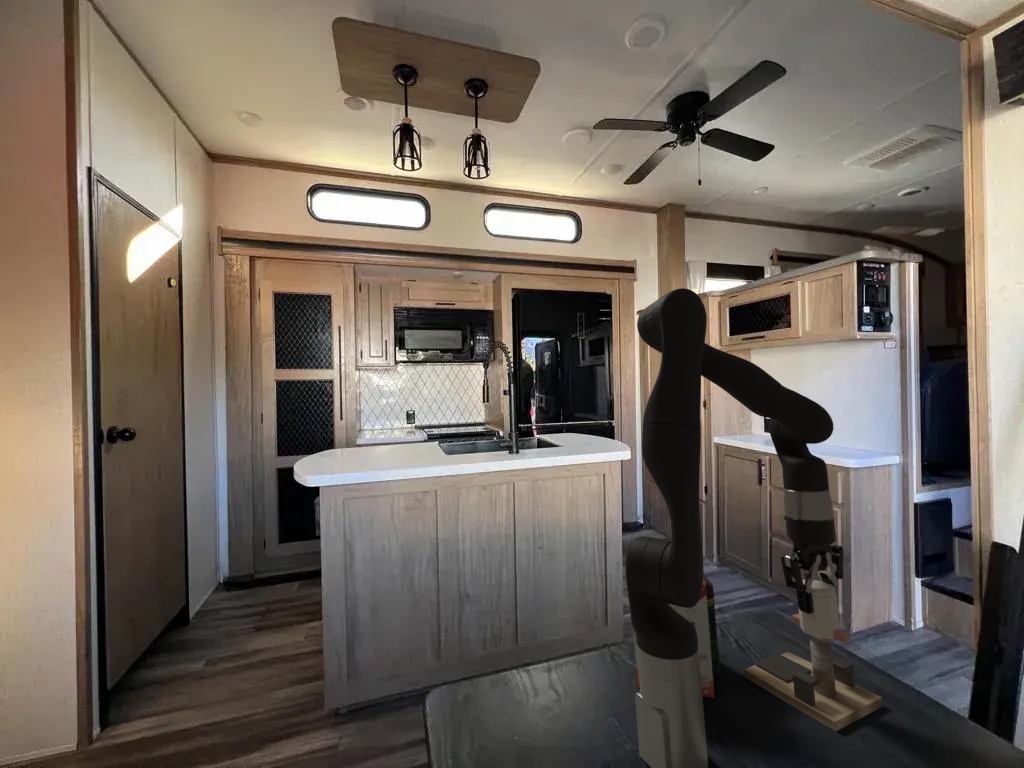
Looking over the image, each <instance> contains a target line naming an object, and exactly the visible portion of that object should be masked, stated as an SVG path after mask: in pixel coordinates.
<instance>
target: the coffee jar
mask: <svg viewBox="0 0 1024 768" xmlns="http://www.w3.org/2000/svg"><path fill="white" fill-rule="evenodd" d="M704 581H705V585H706V594H707V608H708V620H709V633H710V646H711V659H712V672H713V676H714V675H716V674H719V673H720V671H721V662H720V661H721V660H720V651H719V642H718V641H719V640H718V632H717V631H718V630H717V620H716V607H715V603H716V602H715V592H714V587H713V586H714V585H713V583H712V582H711V581H710V580H709V579H708V577H706V576H705V575H704Z"/></svg>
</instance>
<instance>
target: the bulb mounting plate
mask: <svg viewBox="0 0 1024 768" xmlns="http://www.w3.org/2000/svg"><path fill="white" fill-rule="evenodd" d="M809 645H810V646H809V647H810V658H811V662H810V661H808V660H806V659H804V658H802V657H800V656H798V655H796V654H794V653H792V652H789V651H786V652H784V653H781V654H780V655H782V656H784V657H786V658H788V659H790V660H792V661H794V662H796V663H798V664H800V665H802V666H804V667H806V668H808V669H810V670H811V671H812V672H811V673H809V674H808V673H806V672H804V671H800V672H798V673H796V674H793V681H791V682H788V683H786V682H784V681H782V680H781V679H779V678H777V677H775V676H773V675H772V674H770V673H768V672H766V671H764V670H763V669H761V668H759V667H757V666H755V664H754V665H752V666H749V667H746V668H744V669H743V674H744V675H743V676H744V678H745V679H747V680H749V681H750V682H752V683H753V684H755V685H757V686H758V687H761V688H762V689H764V690H765V691H767V692H769V693H770V694H772V695H774V697H777V698H779V699H780V700H782V701H783V702H785V703H787V704H788V705H790V706H792V707H794V708H795V709H797V710H798V711H801V713H804V714H806V715H807V716H809V717H811V718H812V719H813V720H816V721H817V722H819V723H820V724H822V725H823V726H825V727H827V728H829V729H831V730H832V731H834V732H838V731H840V730H841V729H843V728H845V727H847V726H849V725H851V724H852V723H854V722H856V721H858V720H860V719H862V718H864V717H866V716H867V715H870V714H871V713H873V712H875V711H876V710H879V709H880V708H883V706H884V705H883V697H882V696H879V695H877V694H875V693H873V692H871V691H870V690H867V689H865V688H863V687H862V686H859V685H857V684H855V673H854V666H853V664H852V663H851V662H849V661H847V660H844V659H842V658H840V657H837V656H833V650H832V643H831V642H830V641H828V640H827V639H825V638H817V637H813V638H810V639H809Z"/></svg>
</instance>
